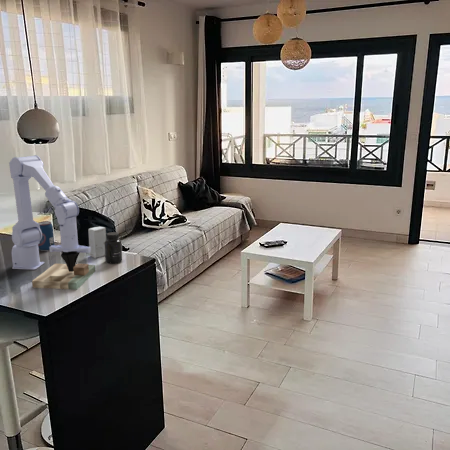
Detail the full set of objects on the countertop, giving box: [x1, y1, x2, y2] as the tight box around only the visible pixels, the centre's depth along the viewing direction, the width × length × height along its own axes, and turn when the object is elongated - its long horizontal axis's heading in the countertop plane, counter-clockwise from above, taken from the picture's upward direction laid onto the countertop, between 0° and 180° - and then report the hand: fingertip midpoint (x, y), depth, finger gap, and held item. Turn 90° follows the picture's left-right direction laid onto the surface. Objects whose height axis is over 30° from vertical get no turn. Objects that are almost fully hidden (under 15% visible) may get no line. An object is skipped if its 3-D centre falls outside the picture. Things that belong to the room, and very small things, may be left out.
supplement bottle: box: [104, 231, 123, 265], centre depth 182 cm, size 7×7×12 cm
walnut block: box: [73, 263, 89, 276], centre depth 164 cm, size 4×4×3 cm
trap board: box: [31, 263, 97, 291], centre depth 165 cm, size 16×18×2 cm
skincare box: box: [88, 225, 107, 259], centre depth 190 cm, size 6×4×12 cm
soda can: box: [37, 220, 56, 252], centre depth 198 cm, size 7×7×12 cm
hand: (71, 270), depth 164 cm, fingers closed
